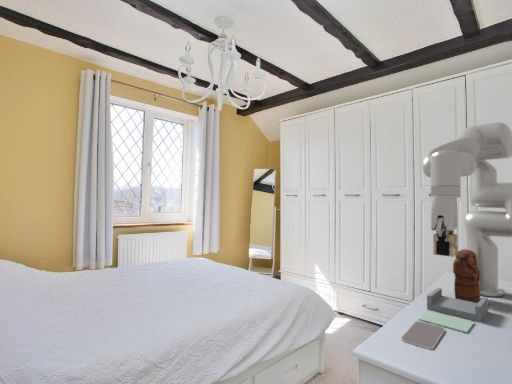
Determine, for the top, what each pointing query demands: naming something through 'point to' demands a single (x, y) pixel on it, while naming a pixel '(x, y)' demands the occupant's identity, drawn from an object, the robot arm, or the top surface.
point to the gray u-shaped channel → (457, 306)
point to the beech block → (452, 244)
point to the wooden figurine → (466, 276)
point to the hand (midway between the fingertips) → (445, 253)
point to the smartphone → (423, 335)
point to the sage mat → (447, 321)
